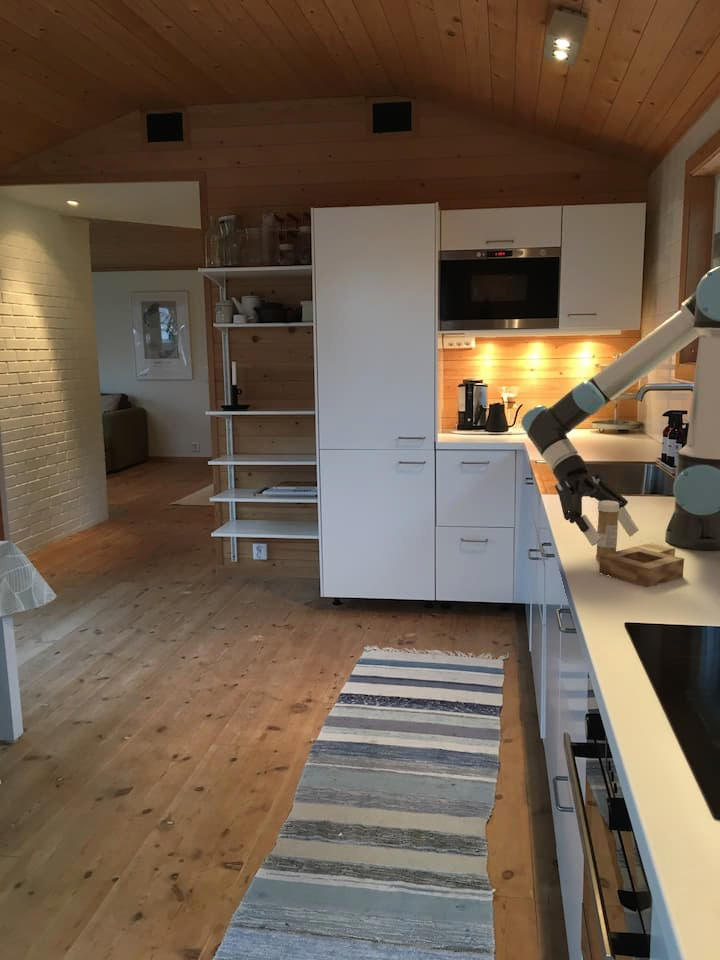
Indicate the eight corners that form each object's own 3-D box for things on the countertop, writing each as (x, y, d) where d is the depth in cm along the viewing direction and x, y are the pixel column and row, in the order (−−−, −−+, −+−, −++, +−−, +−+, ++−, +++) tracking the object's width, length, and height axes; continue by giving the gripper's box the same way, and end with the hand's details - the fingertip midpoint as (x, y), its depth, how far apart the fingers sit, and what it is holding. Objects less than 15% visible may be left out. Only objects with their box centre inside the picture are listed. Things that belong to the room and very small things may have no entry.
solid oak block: (650, 559, 174) (651, 542, 174) (674, 565, 169) (675, 547, 169) (634, 563, 171) (635, 546, 170) (657, 570, 166) (658, 552, 165)
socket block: (634, 563, 171) (635, 546, 170) (682, 576, 161) (684, 558, 160) (599, 573, 164) (600, 555, 163) (647, 587, 154) (648, 568, 154)
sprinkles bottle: (592, 557, 177) (594, 500, 174) (611, 556, 177) (614, 499, 175) (600, 562, 172) (603, 504, 170) (620, 561, 173) (622, 503, 170)
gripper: (590, 467, 191) (639, 538, 181) (520, 478, 177) (569, 555, 167) (608, 448, 185) (660, 520, 176) (538, 458, 172) (590, 537, 162)
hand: (616, 537), depth 172 cm, fingers open, 12 cm apart
